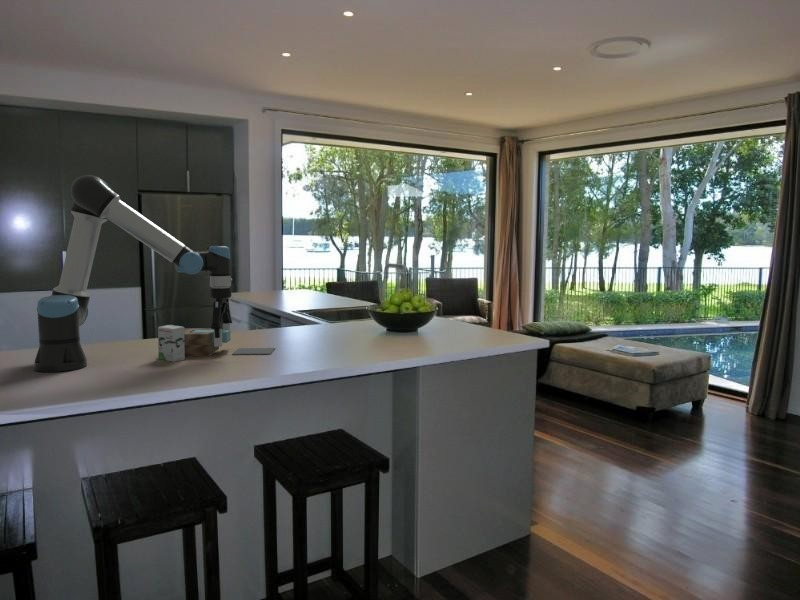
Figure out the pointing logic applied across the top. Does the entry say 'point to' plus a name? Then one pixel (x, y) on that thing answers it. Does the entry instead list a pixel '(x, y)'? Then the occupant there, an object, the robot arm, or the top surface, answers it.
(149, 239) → the robot arm
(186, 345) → the block
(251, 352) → the mat
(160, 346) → the ink box
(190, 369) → the top surface
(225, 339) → the slab
